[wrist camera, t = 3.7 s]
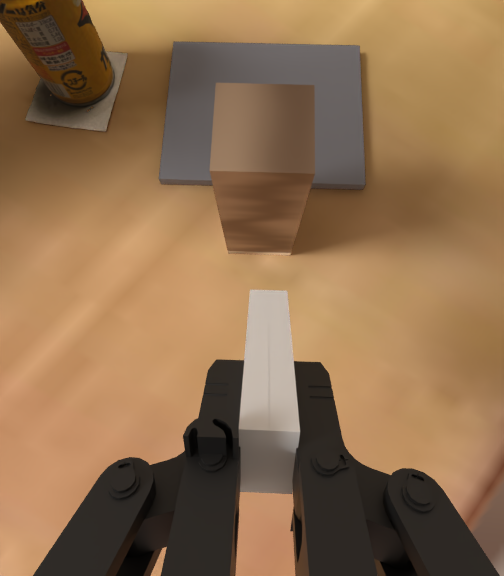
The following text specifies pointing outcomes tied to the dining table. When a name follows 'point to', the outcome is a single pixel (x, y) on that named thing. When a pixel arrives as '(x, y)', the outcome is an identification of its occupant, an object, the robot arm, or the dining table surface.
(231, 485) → the robot arm
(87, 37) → the condiment
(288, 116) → the walnut block
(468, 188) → the dining table surface
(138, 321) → the dining table surface
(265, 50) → the mat
